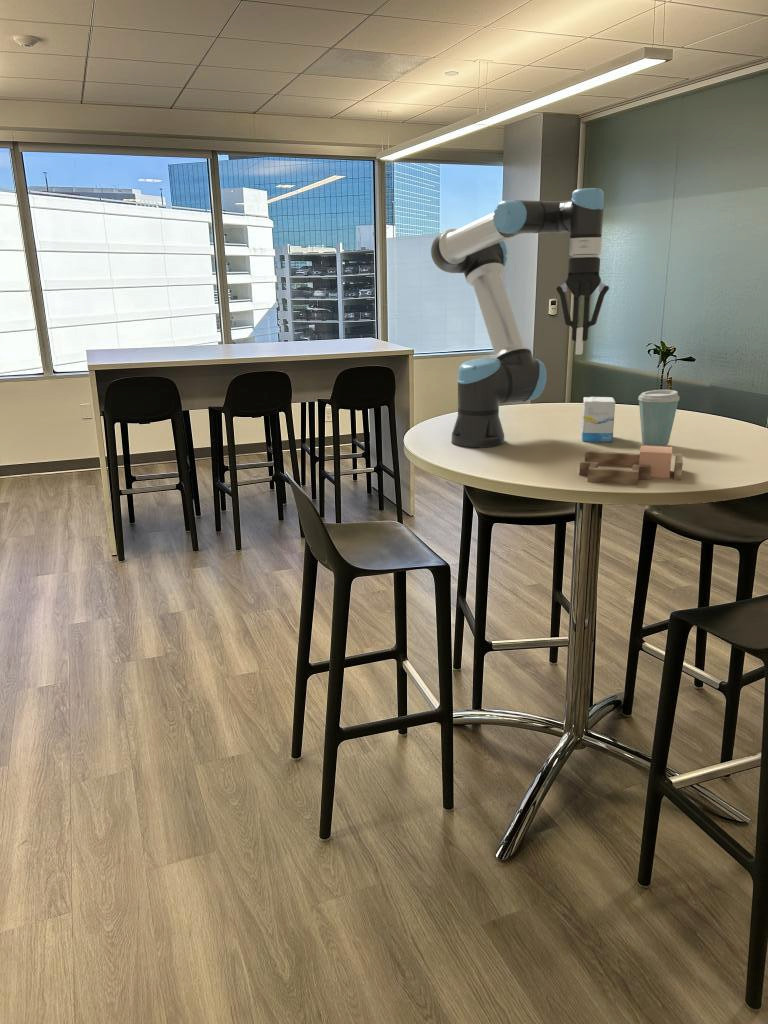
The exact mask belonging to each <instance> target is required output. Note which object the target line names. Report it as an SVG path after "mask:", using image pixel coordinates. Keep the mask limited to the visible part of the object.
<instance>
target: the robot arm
mask: <svg viewBox="0 0 768 1024" xmlns="http://www.w3.org/2000/svg"><path fill="white" fill-rule="evenodd" d="M571 194H572V195H571V196H572V197H571V199H569V200H562V201H561V200H560V201H559V200H557V201H555V200H553V201H552V200H525V199H524V200H521V199H520V200H519V199H510V200H509V199H508V200H501V201H500V202H499V203H498V204H497V206H496V207H495V208H494V211H493V212H491V213H489V214H487V215H485V216H483V217H481V218H478V219H476V220H474V221H472V222H470V223H468V224H466V225H464V226H462V227H460V228H458V229H456V228H450V229H447V230H445V231H442V232H441V233H440V234H438V235H437V236H436V237H435V238H434V239H433V241H432V243H431V247H430V253H431V254H430V255H431V260H432V261H433V263H434V265H435V266H436V267H437V268H439V270H441V271H442V272H446V273H449V274H464V277H465V280H466V283H467V284H468V285H470V286H472V287H473V288H474V289H473V290H474V293H475V296H476V298H477V301H478V305H479V309H480V311H481V315H482V318H483V321H484V325H485V328H486V331H487V334H488V338H489V341H490V344H491V346H492V350H493V353H494V357H483V358H475V359H471V360H466V361H464V362H463V363H461V364H460V365H459V367H458V372H457V417H456V420H455V423H454V426H453V430H452V432H451V443H452V444H453V445H456V446H461V447H466V448H467V447H468V448H490V447H496V446H500V445H501V446H502V444H504V443H505V432H504V428H503V425H502V422H501V419H500V415H499V414H500V404H507V403H509V404H510V403H519V402H520V403H521V402H523V403H524V402H527V401H532V400H535V399H537V398H539V397H540V396H541V395H542V393H543V392H544V390H545V387H546V384H547V368H546V366H545V363H544V362H543V361H541V360H540V359H538V358H534V356H533V354H532V351H531V348H528V347H526V346H524V343H523V340H522V337H521V334H520V331H519V327H518V324H517V322H516V318H515V315H514V312H513V310H512V309H513V308H512V305H511V303H510V299H509V297H508V293H507V290H506V287H505V285H504V281H503V277H502V275H503V273H504V272H505V271H504V270H505V266H506V264H507V260H508V257H507V255H508V249H507V245H506V243H505V241H506V240H508V239H510V238H514V237H516V236H518V235H520V234H521V235H522V234H546V235H548V234H549V235H558V234H565V233H569V234H570V235H569V251H568V255H569V256H571V257H569V258H568V266H567V268H568V269H567V272H568V273H567V277H566V279H565V281H564V283H563V284H561V285H560V286H559V285H558V286H557V287H556V292H557V293H558V295H559V297H560V302H561V308H562V313H563V318H564V324H565V325H566V326H569V327H571V329H572V331H571V340H572V341H574V342H575V355H583V351H584V342H587V341H588V339H589V328H590V327H592V326H594V325H596V324H597V321H598V319H599V315H600V312H601V309H602V305H603V303H604V299H605V296H606V294H607V293H608V291H609V290H610V286H609V285H607V284H605V283H603V282H602V278H601V276H600V272H601V271H600V267H601V258H600V257H599V255H601V253H602V252H601V251H602V240H603V239H602V238H603V237H602V236H603V235H602V234H603V224H604V223H603V221H604V209H605V192H604V190H603V189H602V188H598V187H588V188H576V189H575V190H573V191H572V193H571ZM597 289H598V292H599V294H598V297H597V300H596V303H595V307H594V310H593V313H592V316H591V319H590V312H591V311H590V310H591V298H592V295H593V294H594V293H595V292H596V290H597ZM568 290H569V291H570V292H571V294H572V295H573V307H572V308H573V309H572V318H571V312H570V309H569V302H568V297H567V292H568ZM581 296H584V297H583V300H584V301H583V316H582V317H583V318H582V319H583V320H582V327H579V325H580V324H579V321H580V319H579V318H580V304H581V303H580V301H581Z"/></svg>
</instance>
